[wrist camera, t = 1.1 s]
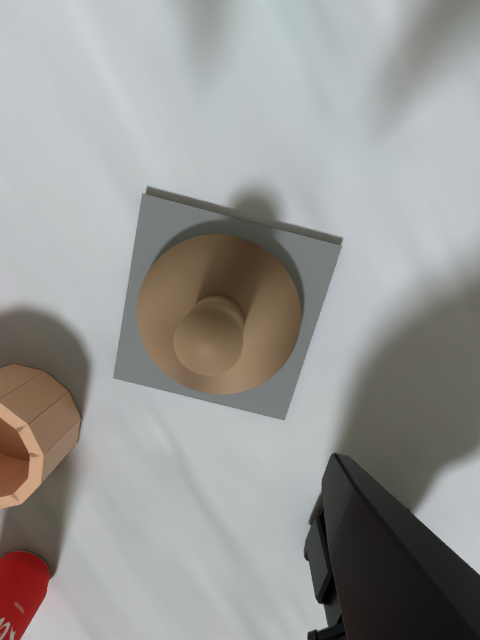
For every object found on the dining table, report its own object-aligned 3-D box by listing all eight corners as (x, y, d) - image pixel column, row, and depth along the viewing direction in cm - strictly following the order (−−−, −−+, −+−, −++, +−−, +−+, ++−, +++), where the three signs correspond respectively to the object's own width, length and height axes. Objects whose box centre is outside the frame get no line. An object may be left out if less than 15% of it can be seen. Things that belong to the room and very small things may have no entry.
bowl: (85, 381, 21) (48, 412, 17) (73, 474, 23) (37, 521, 19) (-28, 353, 21) (-93, 378, 17) (-31, 449, 23) (-89, 492, 19)
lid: (320, 257, 18) (348, 264, 13) (274, 403, 20) (282, 458, 15) (155, 215, 18) (116, 204, 12) (130, 368, 20) (88, 412, 15)
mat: (340, 245, 18) (342, 245, 18) (283, 417, 21) (284, 420, 21) (144, 194, 18) (142, 193, 17) (115, 375, 21) (113, 378, 20)
